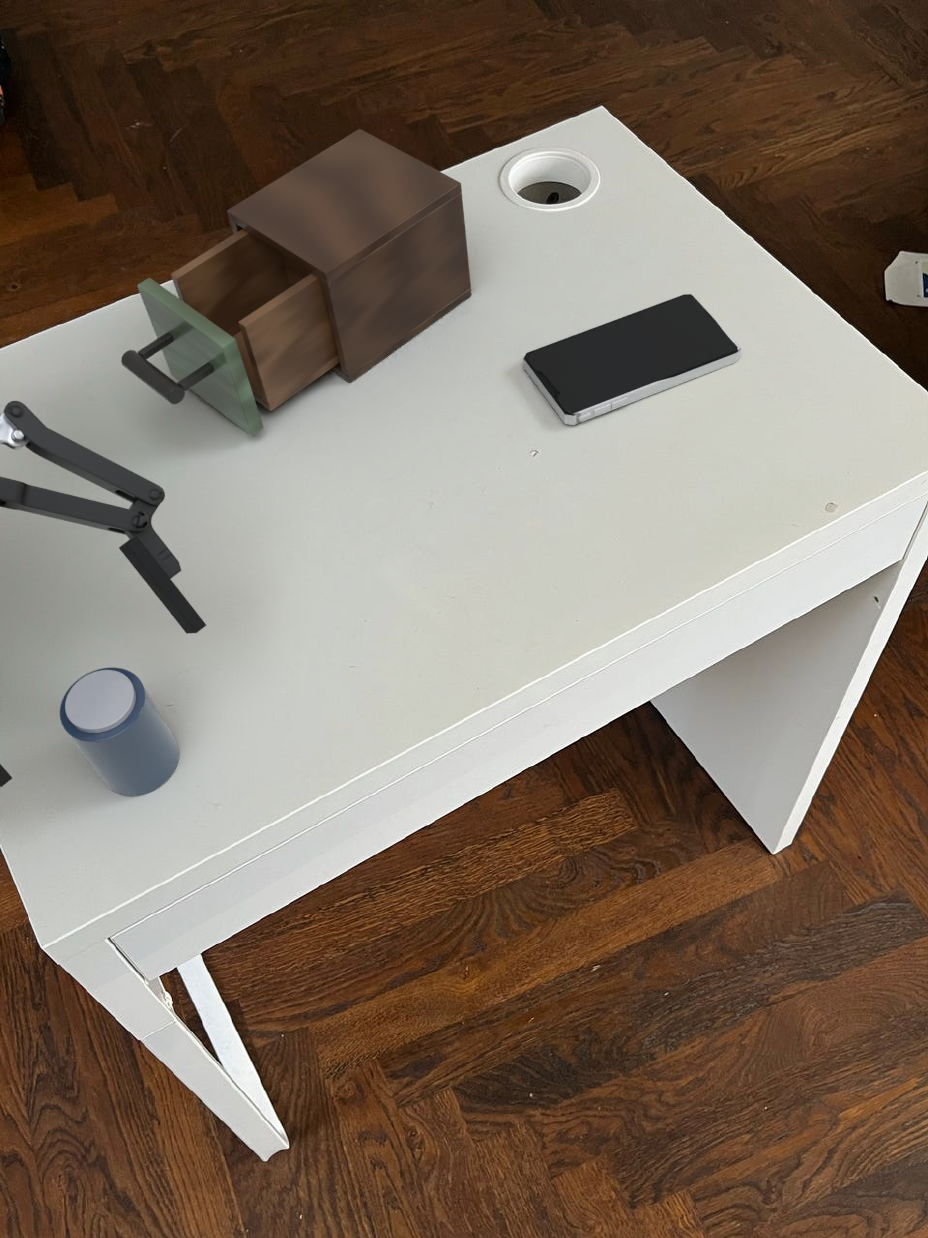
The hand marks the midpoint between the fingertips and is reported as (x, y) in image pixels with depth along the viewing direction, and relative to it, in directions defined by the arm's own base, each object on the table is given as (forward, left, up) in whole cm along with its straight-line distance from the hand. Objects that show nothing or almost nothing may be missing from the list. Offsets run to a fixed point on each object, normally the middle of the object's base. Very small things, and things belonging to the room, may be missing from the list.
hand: (104, 702), depth 67 cm
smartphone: (+47, 0, -7) cm, 47 cm away
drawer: (+26, +21, -6) cm, 34 cm away
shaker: (0, 0, -7) cm, 7 cm away
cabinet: (+38, +21, -7) cm, 44 cm away
